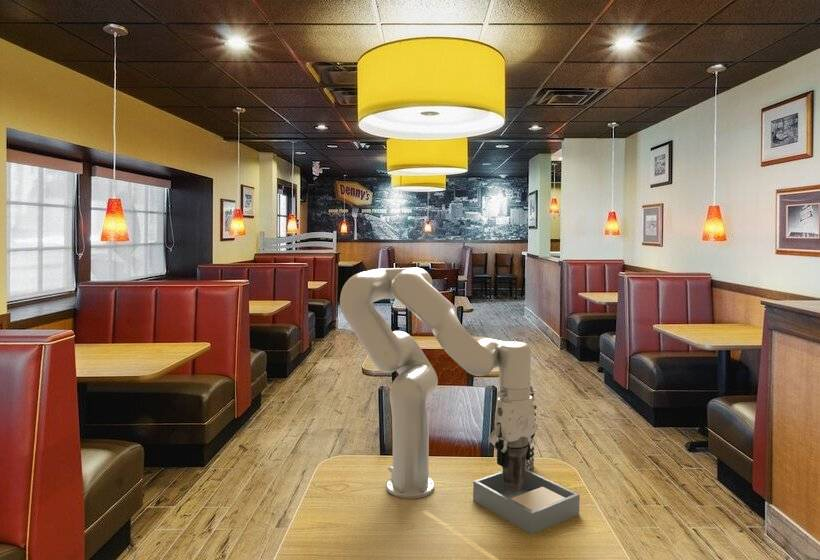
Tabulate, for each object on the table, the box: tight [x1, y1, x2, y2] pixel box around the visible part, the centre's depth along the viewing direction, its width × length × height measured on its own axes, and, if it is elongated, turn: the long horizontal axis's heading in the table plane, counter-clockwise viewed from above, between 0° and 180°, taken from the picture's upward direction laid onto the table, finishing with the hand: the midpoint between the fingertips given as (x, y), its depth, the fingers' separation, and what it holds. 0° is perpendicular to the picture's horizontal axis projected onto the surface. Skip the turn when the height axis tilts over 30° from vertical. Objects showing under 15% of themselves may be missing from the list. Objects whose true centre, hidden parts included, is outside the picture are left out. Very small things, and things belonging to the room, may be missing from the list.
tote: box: [472, 469, 581, 536], centre depth 147 cm, size 20×16×6 cm
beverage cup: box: [501, 436, 529, 492], centre depth 150 cm, size 7×7×20 cm
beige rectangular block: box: [511, 487, 565, 511], centre depth 144 cm, size 8×11×4 cm
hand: (513, 461), depth 150 cm, fingers closed on beverage cup, 7 cm apart
